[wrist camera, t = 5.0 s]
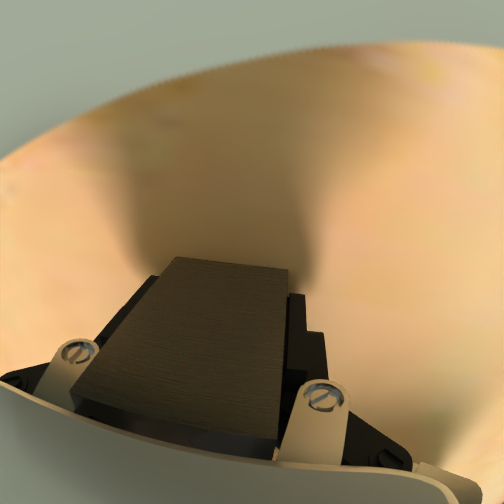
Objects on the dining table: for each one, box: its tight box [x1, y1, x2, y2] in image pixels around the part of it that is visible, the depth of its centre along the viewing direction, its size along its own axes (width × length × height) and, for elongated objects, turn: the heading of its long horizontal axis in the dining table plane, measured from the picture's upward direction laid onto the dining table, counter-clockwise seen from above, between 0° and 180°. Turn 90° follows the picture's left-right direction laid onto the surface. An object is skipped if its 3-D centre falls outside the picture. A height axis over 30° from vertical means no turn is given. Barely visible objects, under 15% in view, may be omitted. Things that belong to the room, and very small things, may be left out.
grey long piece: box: [69, 257, 288, 461], centre depth 11 cm, size 16×6×7 cm, turn 176°
